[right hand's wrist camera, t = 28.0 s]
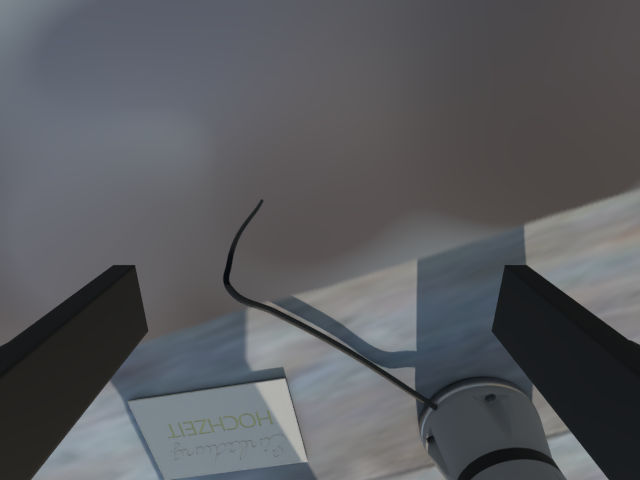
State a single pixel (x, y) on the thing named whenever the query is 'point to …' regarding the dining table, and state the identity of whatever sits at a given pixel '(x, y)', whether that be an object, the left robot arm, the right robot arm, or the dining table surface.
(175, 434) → the invitation card
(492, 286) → the dining table surface
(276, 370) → the dining table surface
